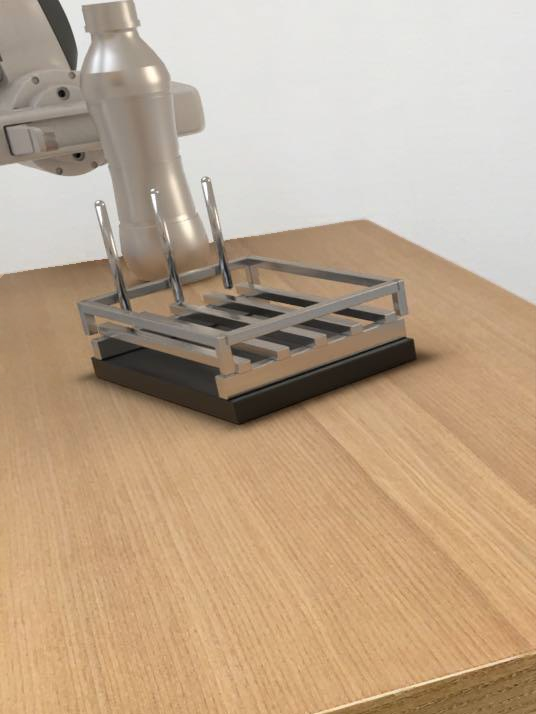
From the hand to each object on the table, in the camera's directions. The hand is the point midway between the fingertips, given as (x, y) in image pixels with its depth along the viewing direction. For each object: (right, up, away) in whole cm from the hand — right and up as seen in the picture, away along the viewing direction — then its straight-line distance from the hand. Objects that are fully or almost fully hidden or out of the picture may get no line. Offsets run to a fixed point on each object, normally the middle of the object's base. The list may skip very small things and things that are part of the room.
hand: (107, 130), depth 97 cm
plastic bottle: (+5, -12, -1) cm, 13 cm away
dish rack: (+17, -22, -25) cm, 38 cm away
